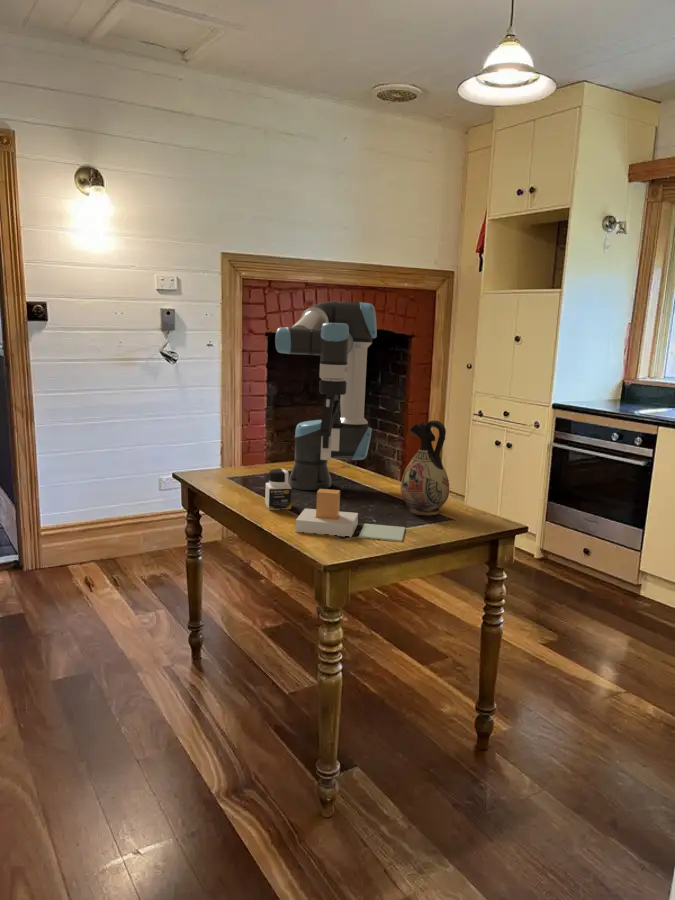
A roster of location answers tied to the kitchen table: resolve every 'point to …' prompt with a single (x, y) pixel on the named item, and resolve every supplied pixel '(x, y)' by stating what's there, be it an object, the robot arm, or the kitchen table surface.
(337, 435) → the robot arm
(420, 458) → the ceramic jug
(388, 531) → the mat
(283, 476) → the medicine bottle
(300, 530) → the socket housing
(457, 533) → the kitchen table surface
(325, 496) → the plug
